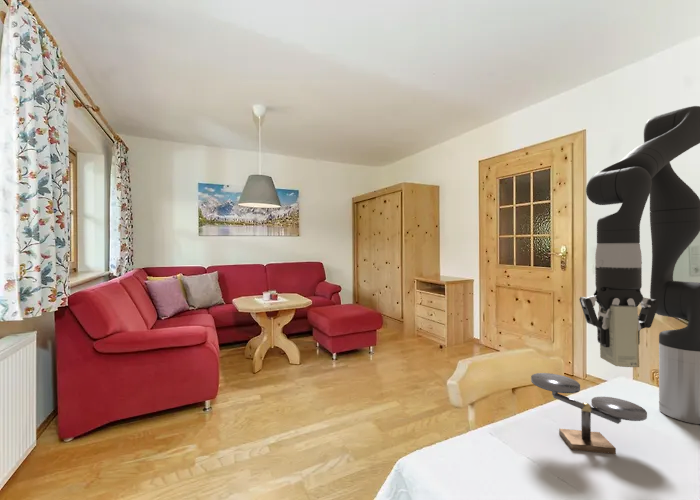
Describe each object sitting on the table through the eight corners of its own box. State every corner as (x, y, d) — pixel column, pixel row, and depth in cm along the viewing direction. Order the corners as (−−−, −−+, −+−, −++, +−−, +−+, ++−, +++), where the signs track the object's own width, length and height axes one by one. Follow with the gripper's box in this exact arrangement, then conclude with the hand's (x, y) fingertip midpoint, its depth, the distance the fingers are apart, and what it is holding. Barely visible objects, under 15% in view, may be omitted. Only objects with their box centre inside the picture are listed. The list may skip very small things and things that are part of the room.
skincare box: (640, 368, 66) (640, 307, 66) (614, 366, 67) (614, 306, 67) (621, 358, 72) (621, 302, 72) (597, 357, 73) (597, 301, 73)
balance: (629, 437, 73) (629, 378, 73) (658, 463, 64) (658, 396, 64) (525, 427, 77) (525, 371, 77) (539, 450, 68) (539, 387, 68)
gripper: (644, 264, 72) (645, 343, 72) (571, 264, 74) (571, 340, 74) (671, 266, 64) (671, 354, 64) (588, 265, 67) (588, 350, 67)
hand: (617, 346), depth 69 cm, fingers closed on skincare box, 4 cm apart
